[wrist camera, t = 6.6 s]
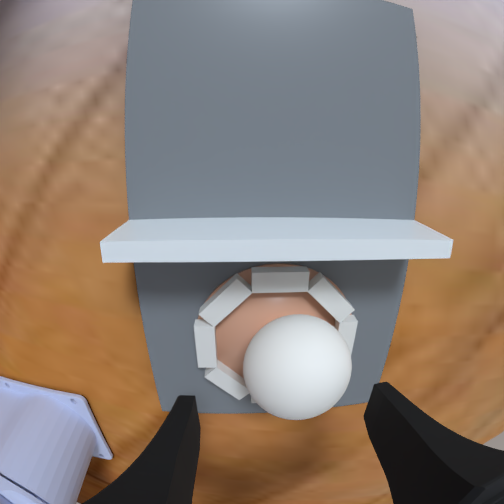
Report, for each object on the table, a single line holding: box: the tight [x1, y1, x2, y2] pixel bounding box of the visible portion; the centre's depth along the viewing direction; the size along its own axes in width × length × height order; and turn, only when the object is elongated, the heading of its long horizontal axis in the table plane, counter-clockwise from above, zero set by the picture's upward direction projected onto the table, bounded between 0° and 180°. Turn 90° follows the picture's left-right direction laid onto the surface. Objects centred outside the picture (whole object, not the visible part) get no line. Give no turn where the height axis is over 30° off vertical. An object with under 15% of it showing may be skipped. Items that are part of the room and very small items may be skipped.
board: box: [100, 0, 453, 413], centre depth 13 cm, size 14×24×4 cm, turn 0°
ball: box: [243, 314, 352, 420], centre depth 14 cm, size 5×5×5 cm
